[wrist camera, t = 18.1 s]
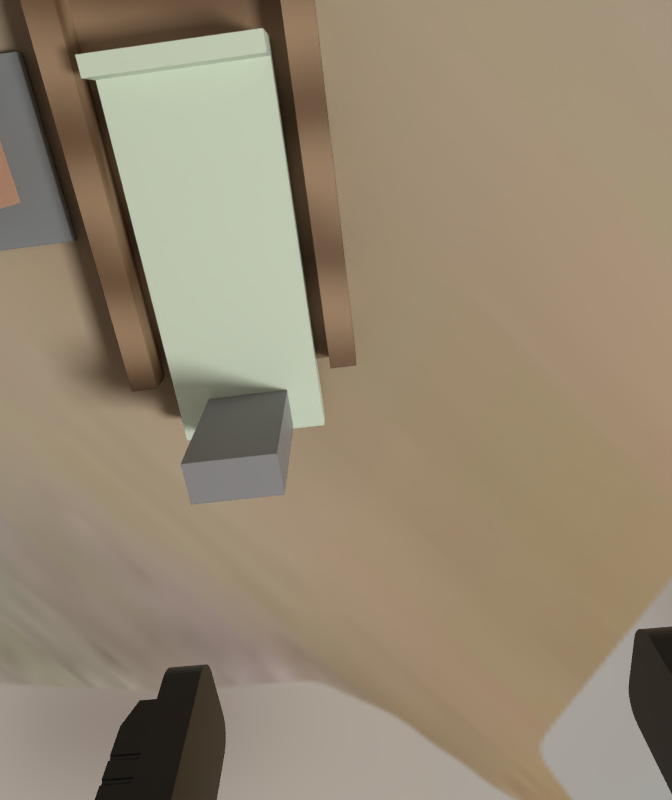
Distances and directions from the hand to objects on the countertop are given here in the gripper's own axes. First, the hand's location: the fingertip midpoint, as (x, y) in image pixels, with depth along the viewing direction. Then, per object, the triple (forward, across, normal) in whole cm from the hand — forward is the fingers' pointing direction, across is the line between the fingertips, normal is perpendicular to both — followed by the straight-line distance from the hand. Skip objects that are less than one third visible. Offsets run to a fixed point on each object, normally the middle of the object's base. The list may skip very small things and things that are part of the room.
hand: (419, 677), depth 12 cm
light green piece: (+29, +8, -3) cm, 30 cm away
